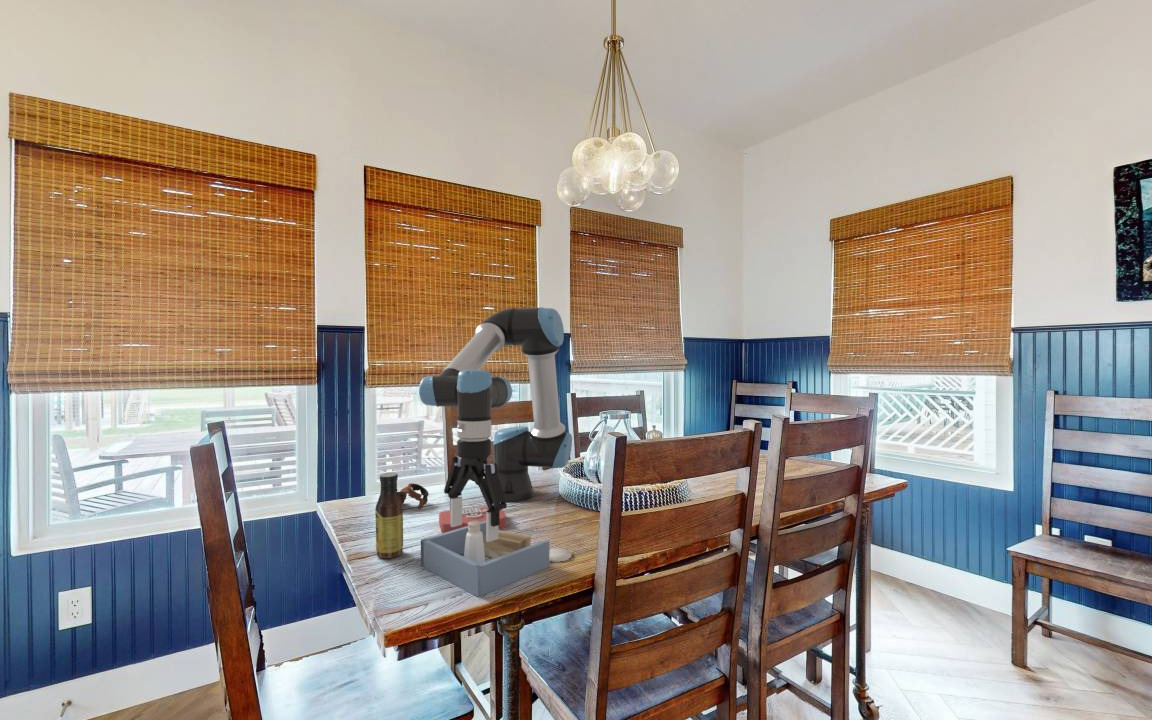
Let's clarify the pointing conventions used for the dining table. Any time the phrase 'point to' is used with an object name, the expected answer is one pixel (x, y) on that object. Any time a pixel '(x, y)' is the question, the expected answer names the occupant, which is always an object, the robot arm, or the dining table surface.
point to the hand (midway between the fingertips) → (473, 532)
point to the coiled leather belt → (414, 494)
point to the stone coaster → (559, 554)
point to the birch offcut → (493, 552)
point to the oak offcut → (508, 542)
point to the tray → (479, 578)
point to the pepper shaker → (474, 543)
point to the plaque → (468, 518)
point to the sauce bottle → (389, 518)
